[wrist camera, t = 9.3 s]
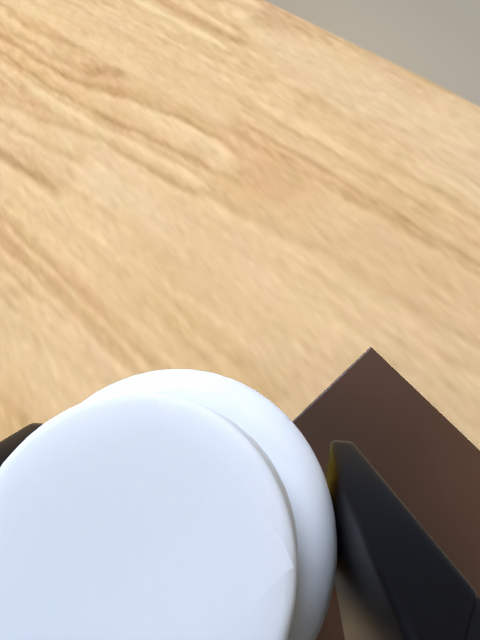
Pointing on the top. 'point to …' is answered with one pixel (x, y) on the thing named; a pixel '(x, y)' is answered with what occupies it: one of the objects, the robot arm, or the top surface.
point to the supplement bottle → (166, 518)
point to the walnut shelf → (402, 459)
